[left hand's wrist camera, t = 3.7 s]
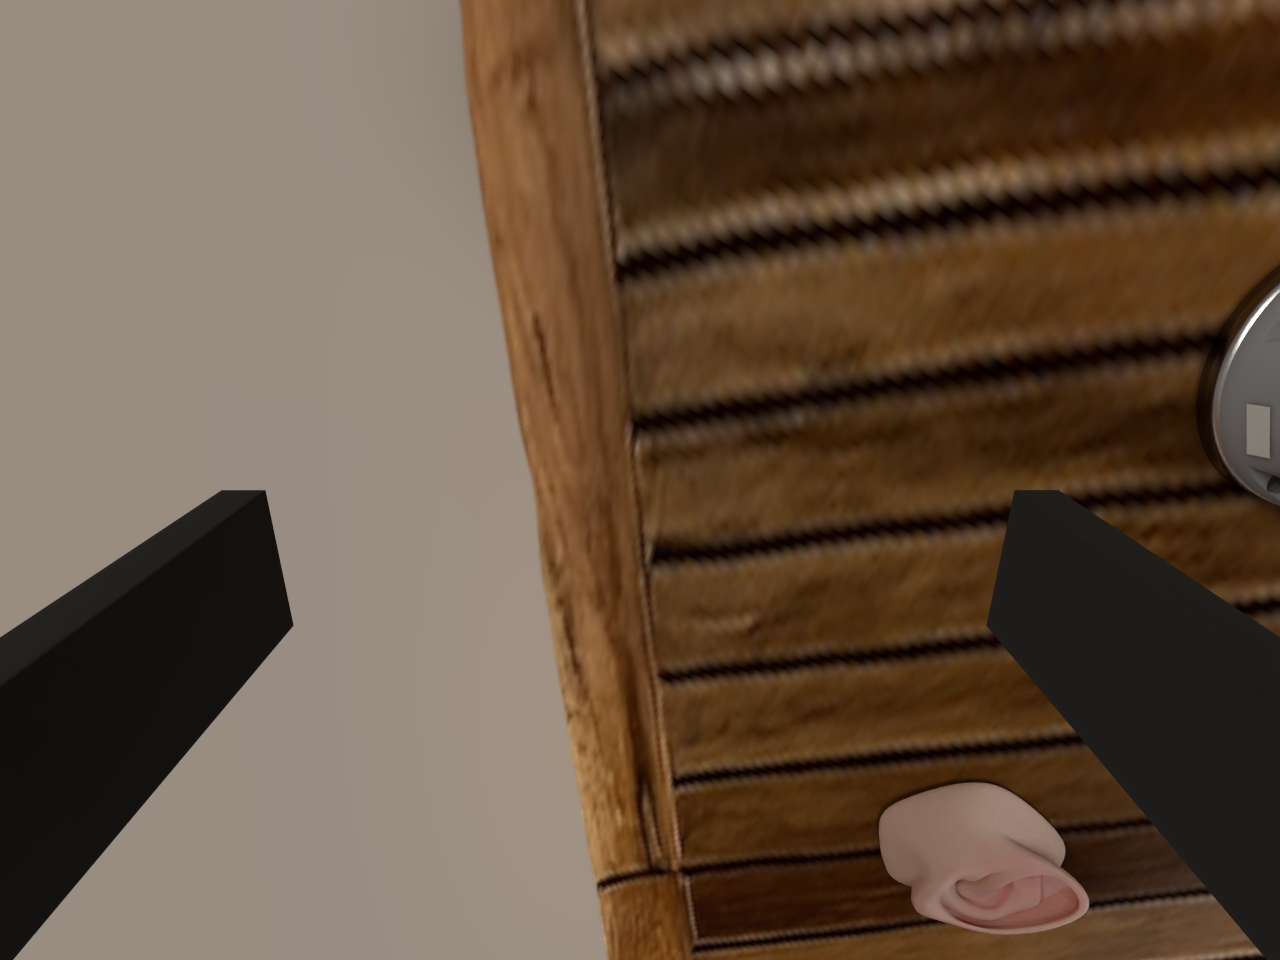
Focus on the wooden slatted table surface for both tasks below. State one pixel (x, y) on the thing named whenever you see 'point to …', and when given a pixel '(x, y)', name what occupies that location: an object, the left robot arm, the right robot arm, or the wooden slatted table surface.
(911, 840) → the anatomical model
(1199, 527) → the wooden slatted table surface
